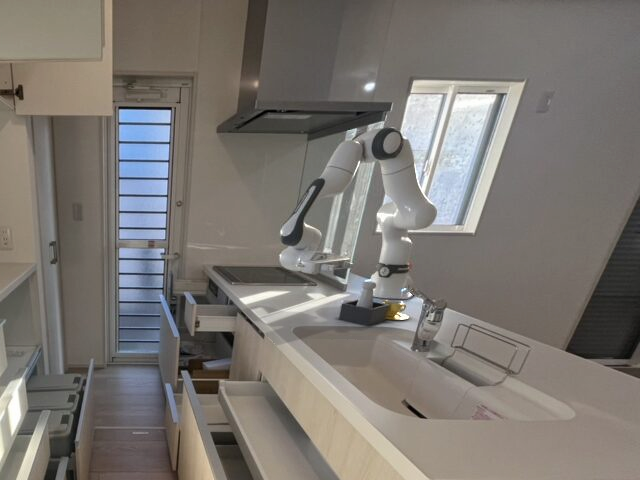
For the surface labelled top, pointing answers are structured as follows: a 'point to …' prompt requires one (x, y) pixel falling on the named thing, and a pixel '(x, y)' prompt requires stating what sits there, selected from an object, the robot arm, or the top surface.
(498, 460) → the top surface
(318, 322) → the top surface
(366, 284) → the salt shaker
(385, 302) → the cup
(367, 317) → the dark grey open box
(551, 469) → the top surface
